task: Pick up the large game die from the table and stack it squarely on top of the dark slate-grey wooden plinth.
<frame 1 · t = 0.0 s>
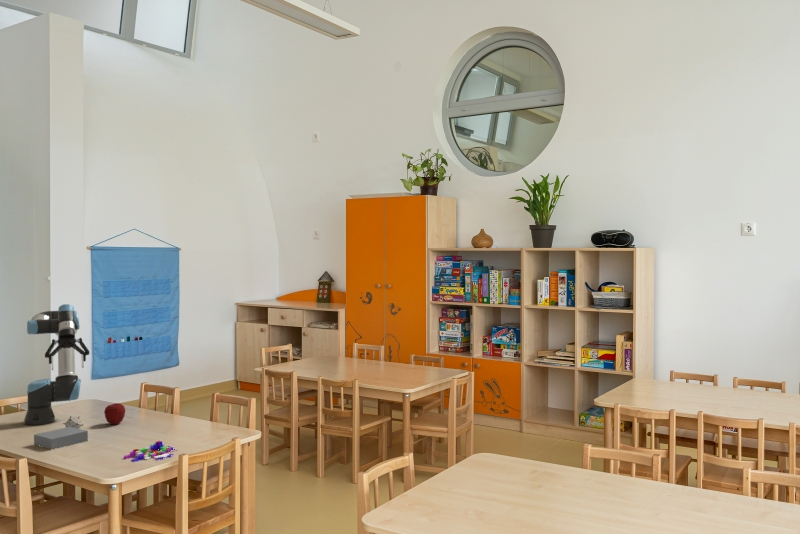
hand: (67, 367, 329), 36 cm above the table, tool tilted 35°, fingers open, 13 cm apart
apple: (115, 424, 360), on the table
plinth: (61, 442, 322), on the table
game die: (73, 432, 343), on the table
building block set: (155, 455, 302), on the table
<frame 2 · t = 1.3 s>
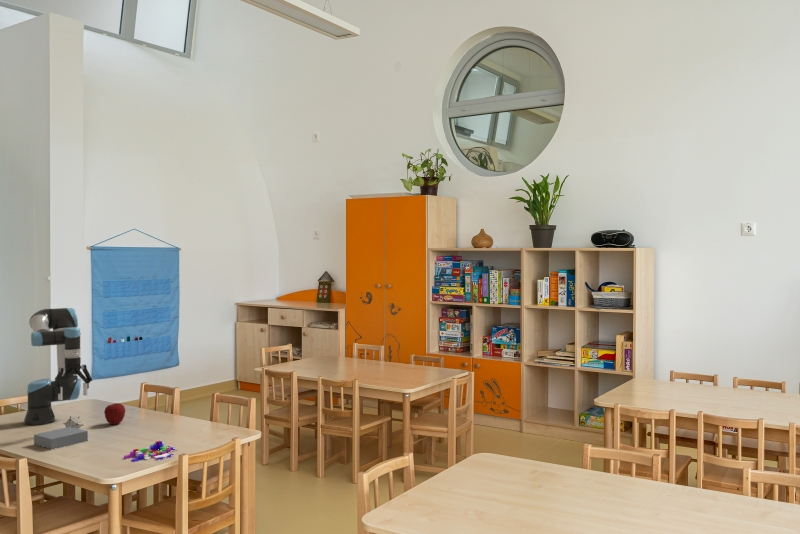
hand: (73, 397, 343), 18 cm above the table, tool pointing down, fingers open, 13 cm apart
nothing on the table moved.
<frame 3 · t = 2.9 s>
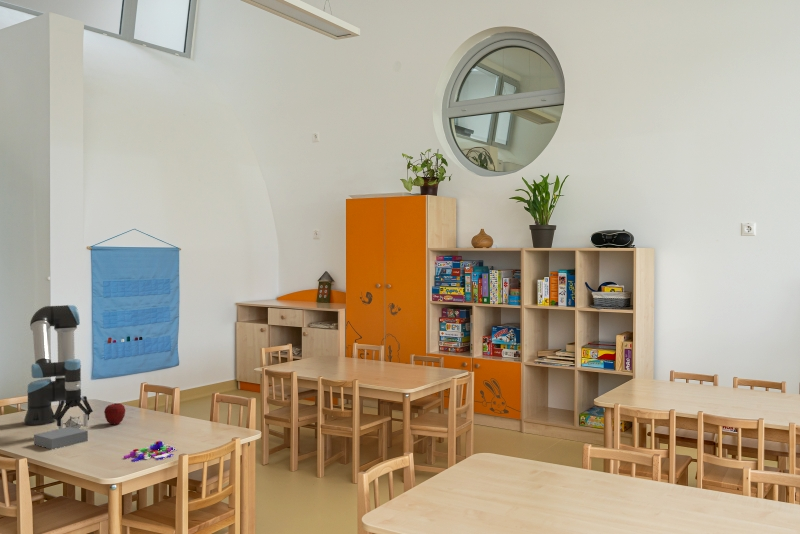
hand: (73, 429, 343), 1 cm above the table, tool pointing down, fingers open, 13 cm apart
nothing on the table moved.
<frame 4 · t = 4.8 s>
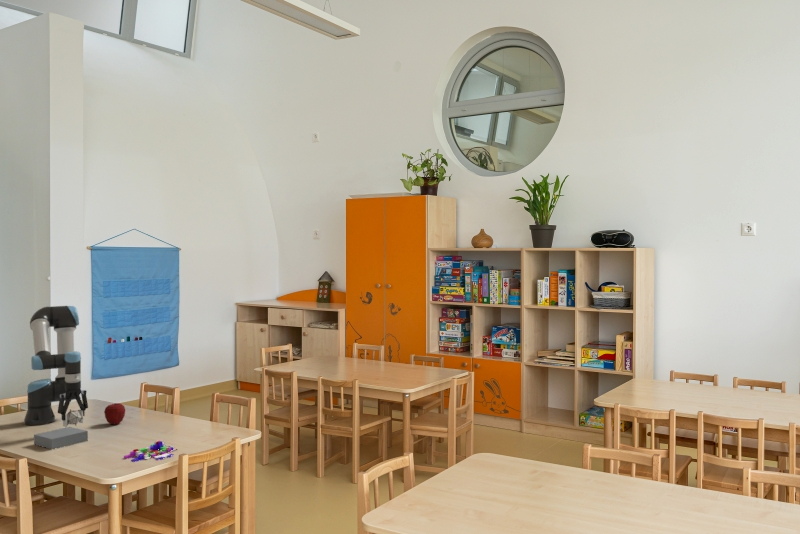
hand: (73, 424, 343), 4 cm above the table, tool pointing down, fingers closed on game die, 8 cm apart
game die: (73, 425, 343), point 3 cm above the table, touching gripper
everything else where it was.
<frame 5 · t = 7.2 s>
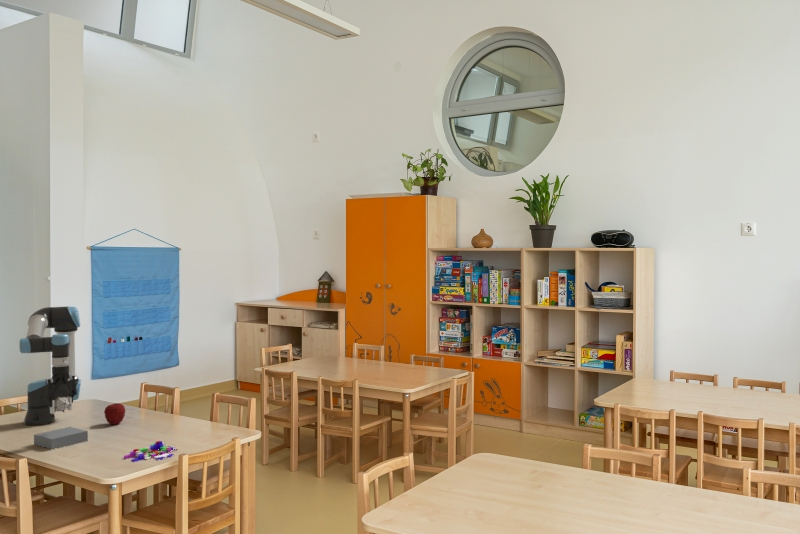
hand: (61, 411, 322), 15 cm above the table, tool pointing down, fingers closed on game die, 8 cm apart
game die: (60, 412, 322), point 15 cm above the table, touching gripper
everything else where it was.
when the fingers open (6 cm above the table, at t = 9.7 s): game die stays where it is, resting on plinth.
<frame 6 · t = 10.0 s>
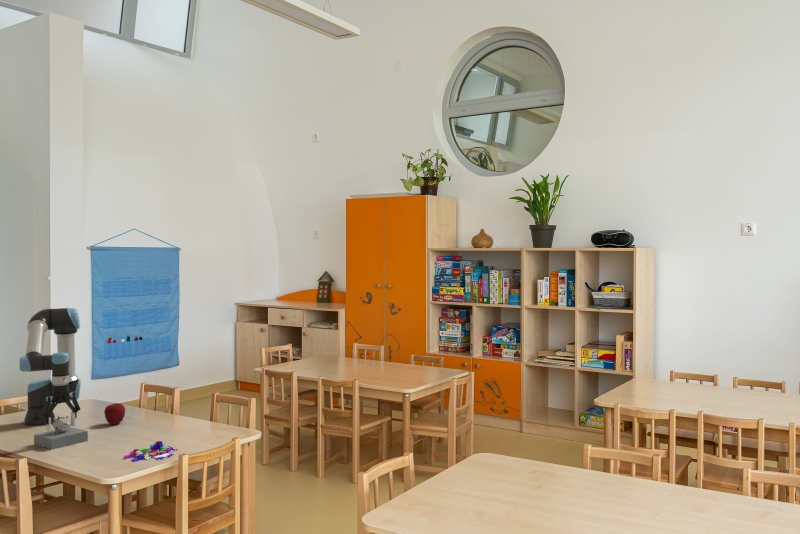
hand: (61, 428, 322), 7 cm above the table, tool pointing down, fingers open, 11 cm apart
game die: (61, 432, 322), point 5 cm above the table, touching plinth
everything else where it was.
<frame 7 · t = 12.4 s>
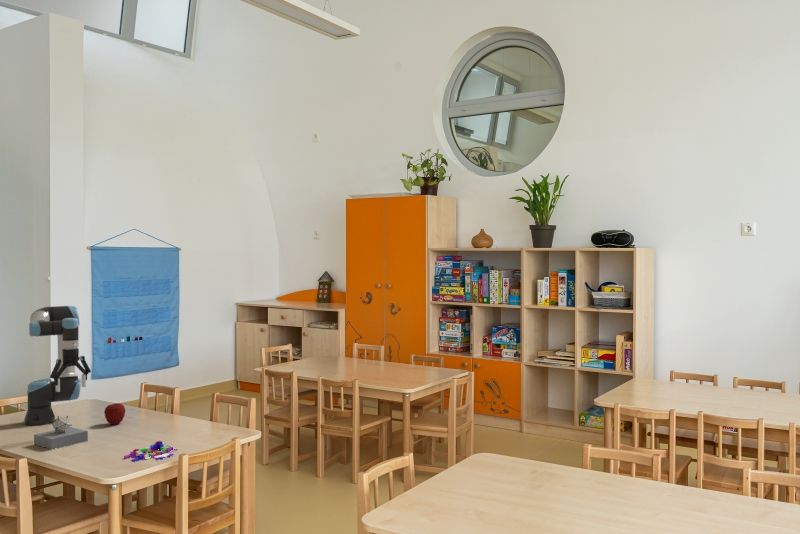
hand: (70, 389, 337), 24 cm above the table, tool pointing down, fingers open, 13 cm apart
nothing on the table moved.
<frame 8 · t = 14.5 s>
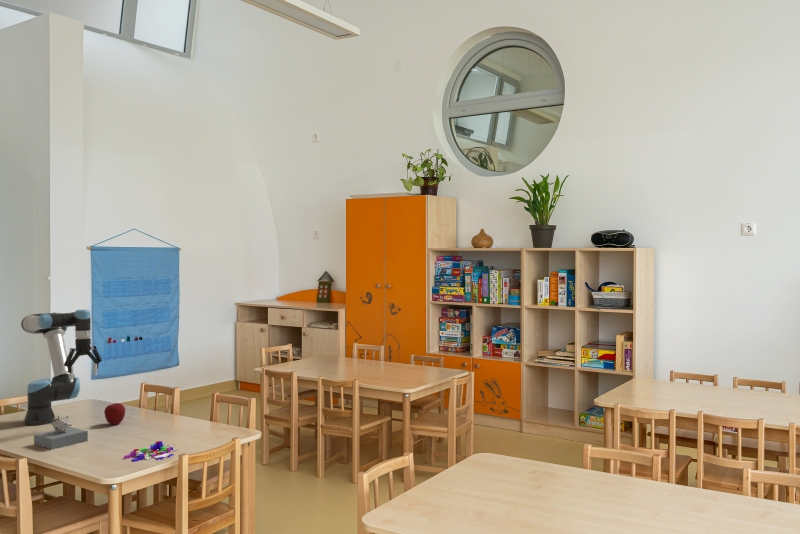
hand: (83, 377, 355), 27 cm above the table, tool pointing down, fingers open, 13 cm apart
nothing on the table moved.
at the end: game die inside the target area on the plinth (0.4 cm from its centre), point 4.8 cm above the plinth's base; game die tilted 1°; the gripper is holding nothing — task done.
